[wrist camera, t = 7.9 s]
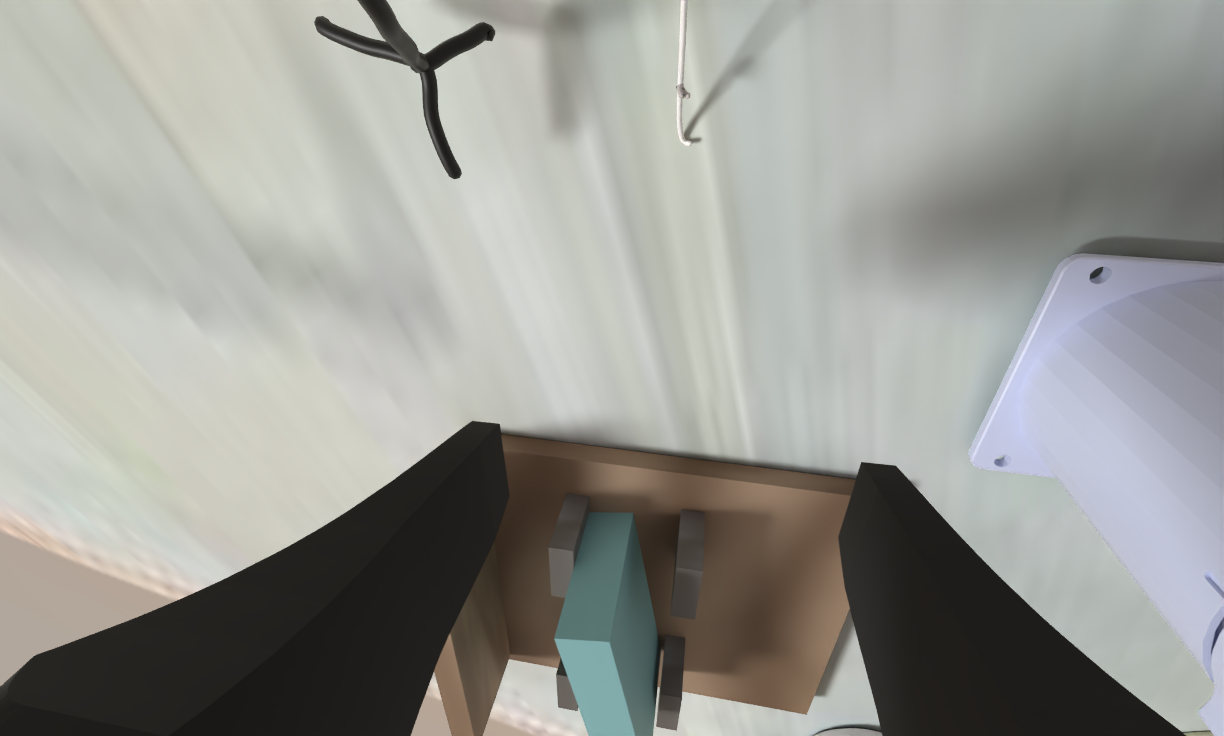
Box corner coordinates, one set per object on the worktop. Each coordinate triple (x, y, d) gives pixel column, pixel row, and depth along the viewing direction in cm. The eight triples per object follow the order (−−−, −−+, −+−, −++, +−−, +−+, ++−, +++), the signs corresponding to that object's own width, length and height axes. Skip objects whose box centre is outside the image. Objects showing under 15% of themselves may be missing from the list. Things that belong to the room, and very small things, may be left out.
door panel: (633, 512, 23) (609, 642, 18) (661, 650, 28) (648, 782, 23) (589, 512, 24) (553, 638, 19) (624, 647, 29) (603, 776, 24)
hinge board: (886, 483, 22) (937, 618, 17) (804, 695, 30) (821, 828, 25) (462, 429, 24) (393, 532, 19) (495, 639, 32) (454, 750, 27)
